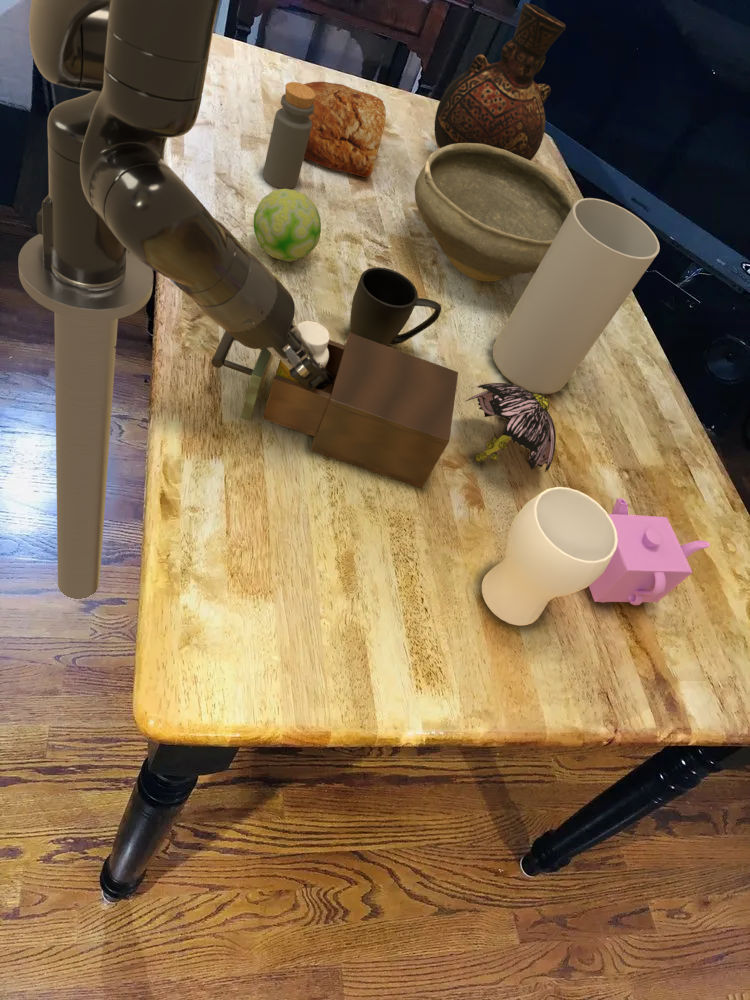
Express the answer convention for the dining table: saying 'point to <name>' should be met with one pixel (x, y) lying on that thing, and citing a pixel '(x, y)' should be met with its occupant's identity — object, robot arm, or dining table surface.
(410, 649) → the dining table surface
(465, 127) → the ceramic vessel
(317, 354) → the supplement bottle
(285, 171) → the bottle
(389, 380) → the cabinet
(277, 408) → the drawer
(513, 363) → the cylinder vase
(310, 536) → the dining table surface
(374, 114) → the bread
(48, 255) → the robot arm
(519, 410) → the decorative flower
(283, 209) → the decorative ball
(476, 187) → the bowl
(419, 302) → the mug
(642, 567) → the teapot
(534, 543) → the cup
